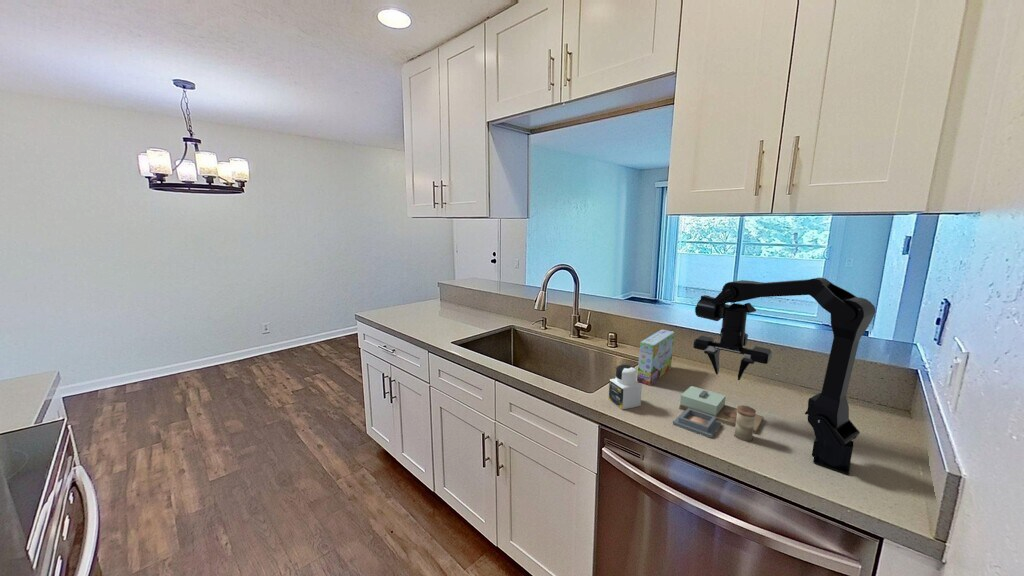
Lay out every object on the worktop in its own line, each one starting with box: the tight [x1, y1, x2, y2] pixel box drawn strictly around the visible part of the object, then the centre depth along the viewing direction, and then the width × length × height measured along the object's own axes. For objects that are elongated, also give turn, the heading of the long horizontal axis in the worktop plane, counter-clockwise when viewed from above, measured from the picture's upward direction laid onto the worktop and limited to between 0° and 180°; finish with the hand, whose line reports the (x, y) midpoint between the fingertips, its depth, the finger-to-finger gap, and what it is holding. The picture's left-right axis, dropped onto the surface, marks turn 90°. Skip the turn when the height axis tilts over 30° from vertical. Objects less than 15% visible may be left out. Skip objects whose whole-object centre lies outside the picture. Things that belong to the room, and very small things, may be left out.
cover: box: [679, 385, 726, 416], centre depth 115 cm, size 10×9×4 cm
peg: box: [734, 405, 757, 442], centre depth 100 cm, size 4×4×8 cm
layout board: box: [679, 404, 764, 435], centre depth 112 cm, size 20×10×1 cm, turn 47°
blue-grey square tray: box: [672, 408, 722, 439], centre depth 107 cm, size 10×9×2 cm
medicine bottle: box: [608, 364, 643, 411], centre depth 118 cm, size 7×7×12 cm
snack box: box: [636, 329, 676, 386], centre depth 140 cm, size 21×6×15 cm, turn 139°
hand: (727, 377), depth 110 cm, fingers open, 5 cm apart
